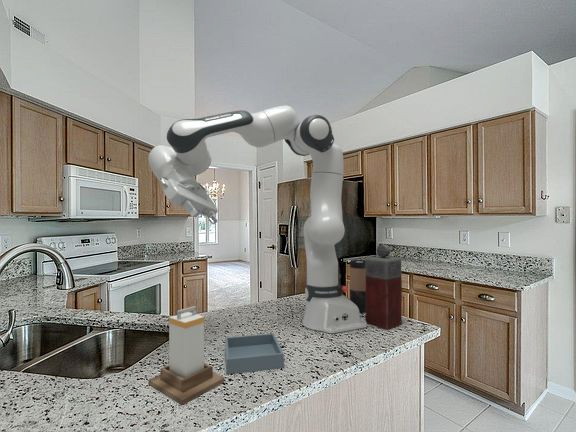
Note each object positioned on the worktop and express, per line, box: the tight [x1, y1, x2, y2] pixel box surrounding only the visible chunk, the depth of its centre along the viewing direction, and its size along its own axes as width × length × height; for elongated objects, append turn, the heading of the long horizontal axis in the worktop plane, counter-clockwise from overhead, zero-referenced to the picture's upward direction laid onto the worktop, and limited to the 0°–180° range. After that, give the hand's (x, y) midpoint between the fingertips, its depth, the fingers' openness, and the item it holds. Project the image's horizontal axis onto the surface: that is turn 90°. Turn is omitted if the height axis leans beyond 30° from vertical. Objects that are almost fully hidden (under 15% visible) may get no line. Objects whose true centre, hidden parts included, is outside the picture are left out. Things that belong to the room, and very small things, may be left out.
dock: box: [147, 362, 226, 406], centre depth 70 cm, size 13×11×4 cm
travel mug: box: [349, 259, 366, 314], centre depth 125 cm, size 8×8×20 cm
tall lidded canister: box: [168, 305, 205, 378], centre depth 70 cm, size 6×5×16 cm
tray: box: [224, 333, 285, 375], centre depth 83 cm, size 14×14×4 cm
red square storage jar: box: [365, 244, 403, 331], centre depth 110 cm, size 9×11×28 cm
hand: (205, 219), depth 87 cm, fingers open, 8 cm apart
